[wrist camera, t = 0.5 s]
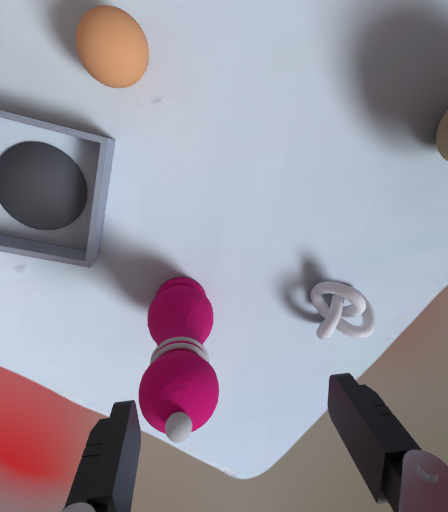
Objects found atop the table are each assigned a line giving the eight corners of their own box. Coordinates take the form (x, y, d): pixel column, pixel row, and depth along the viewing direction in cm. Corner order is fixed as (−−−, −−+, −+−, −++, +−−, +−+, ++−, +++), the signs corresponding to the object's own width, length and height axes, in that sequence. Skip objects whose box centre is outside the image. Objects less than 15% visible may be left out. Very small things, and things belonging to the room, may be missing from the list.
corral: (-27, 103, 30) (-51, 96, 27) (115, 140, 32) (108, 138, 29) (-30, 234, 33) (-52, 241, 30) (98, 258, 36) (90, 267, 33)
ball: (92, 13, 29) (69, -22, 23) (157, 35, 30) (150, 6, 24) (84, 83, 30) (61, 66, 25) (146, 101, 31) (137, 89, 26)
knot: (291, 287, 40) (308, 308, 34) (347, 260, 40) (374, 276, 34) (310, 332, 42) (329, 358, 37) (363, 306, 42) (391, 329, 37)
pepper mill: (182, 335, 40) (181, 496, 21) (139, 301, 38) (94, 446, 19) (222, 298, 39) (257, 430, 20) (179, 261, 37) (175, 370, 18)
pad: (-4, 131, 30) (-5, 131, 30) (91, 155, 32) (91, 155, 32) (-8, 219, 33) (-9, 219, 33) (81, 237, 35) (80, 237, 34)
